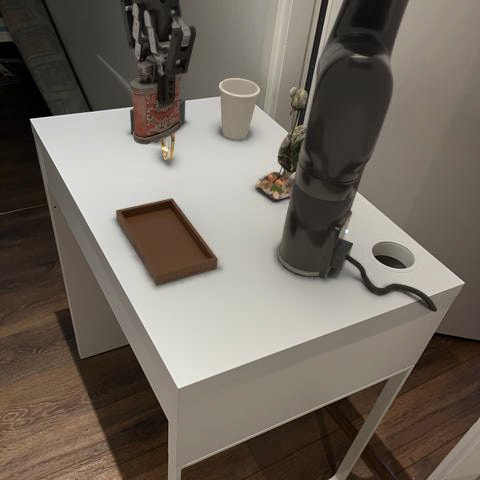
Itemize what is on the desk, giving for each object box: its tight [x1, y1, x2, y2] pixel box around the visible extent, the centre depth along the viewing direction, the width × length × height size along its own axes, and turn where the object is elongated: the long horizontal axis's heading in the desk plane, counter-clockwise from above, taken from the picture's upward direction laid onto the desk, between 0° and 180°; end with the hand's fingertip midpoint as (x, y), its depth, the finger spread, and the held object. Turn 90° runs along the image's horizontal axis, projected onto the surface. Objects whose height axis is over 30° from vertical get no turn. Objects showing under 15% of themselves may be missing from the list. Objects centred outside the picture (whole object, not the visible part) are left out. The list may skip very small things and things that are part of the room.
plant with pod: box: [254, 87, 308, 201], centre depth 89 cm, size 8×11×20 cm
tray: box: [115, 197, 218, 286], centre depth 81 cm, size 17×10×2 cm, turn 29°
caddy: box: [129, 97, 186, 144], centre depth 105 cm, size 6×11×5 cm, turn 153°
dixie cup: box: [218, 77, 261, 141], centre depth 105 cm, size 8×8×10 cm
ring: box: [159, 132, 176, 161], centre depth 96 cm, size 7×3×8 cm, turn 16°
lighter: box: [130, 53, 182, 146], centre depth 66 cm, size 8×3×10 cm, turn 143°
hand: (157, 95), depth 66 cm, fingers closed on lighter, 4 cm apart
